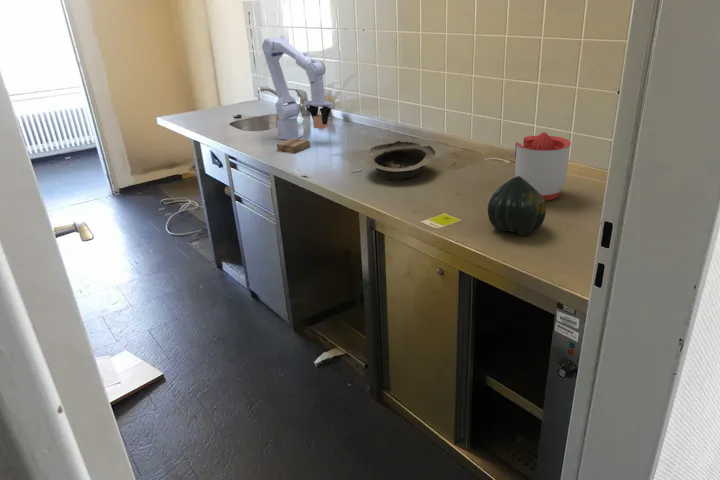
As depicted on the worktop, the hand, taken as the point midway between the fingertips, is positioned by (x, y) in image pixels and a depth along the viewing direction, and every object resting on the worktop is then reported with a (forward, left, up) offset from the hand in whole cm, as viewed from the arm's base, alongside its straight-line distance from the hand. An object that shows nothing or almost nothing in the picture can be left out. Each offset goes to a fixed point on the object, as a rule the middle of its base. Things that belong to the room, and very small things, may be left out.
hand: (320, 123), depth 235 cm
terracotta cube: (0, 0, -2) cm, 2 cm away
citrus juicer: (+102, -22, -9) cm, 105 cm away
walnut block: (-6, -12, -9) cm, 17 cm away
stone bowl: (+53, -22, -9) cm, 58 cm away
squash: (+105, -49, -9) cm, 116 cm away
